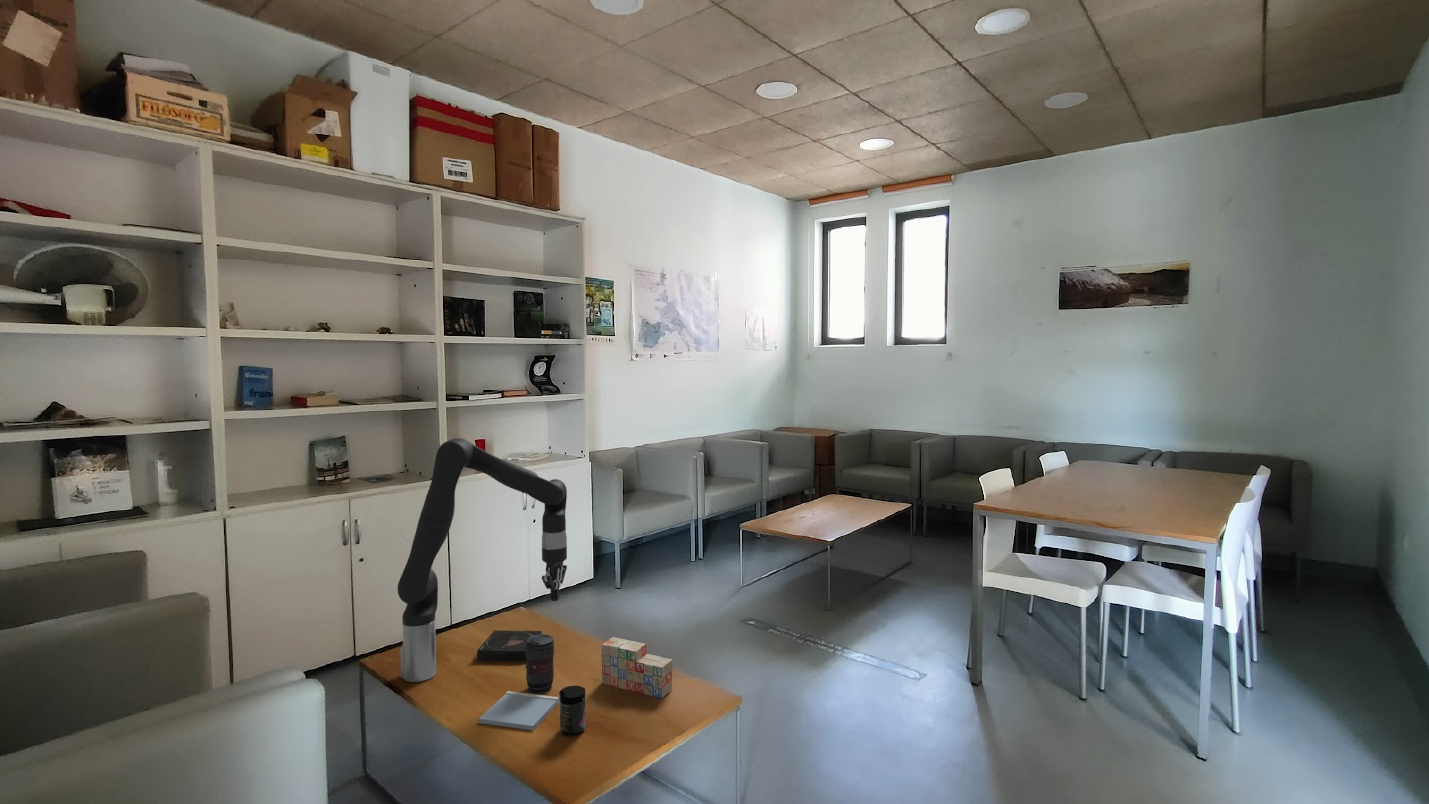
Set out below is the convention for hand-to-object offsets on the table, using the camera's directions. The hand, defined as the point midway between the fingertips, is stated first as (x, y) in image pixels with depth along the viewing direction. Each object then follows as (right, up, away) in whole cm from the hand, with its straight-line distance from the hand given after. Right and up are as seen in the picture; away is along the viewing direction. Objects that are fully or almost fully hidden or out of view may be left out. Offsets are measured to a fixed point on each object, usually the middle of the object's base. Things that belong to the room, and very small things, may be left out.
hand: (554, 600), depth 207 cm
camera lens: (-2, -24, -8) cm, 25 cm away
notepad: (-4, -24, -22) cm, 33 cm away
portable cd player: (-19, -23, +18) cm, 35 cm away
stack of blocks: (+26, -24, -7) cm, 36 cm away
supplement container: (+12, -25, -31) cm, 42 cm away
